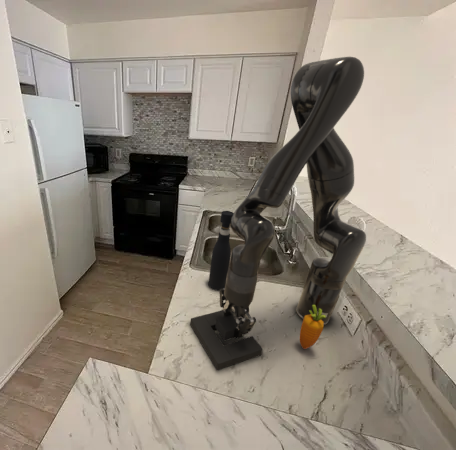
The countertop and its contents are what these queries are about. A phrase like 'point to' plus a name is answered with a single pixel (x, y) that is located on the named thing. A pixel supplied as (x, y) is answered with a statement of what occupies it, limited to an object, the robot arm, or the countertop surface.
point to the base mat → (215, 348)
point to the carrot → (311, 328)
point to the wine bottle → (221, 254)
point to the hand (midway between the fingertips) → (231, 329)
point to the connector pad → (226, 327)
